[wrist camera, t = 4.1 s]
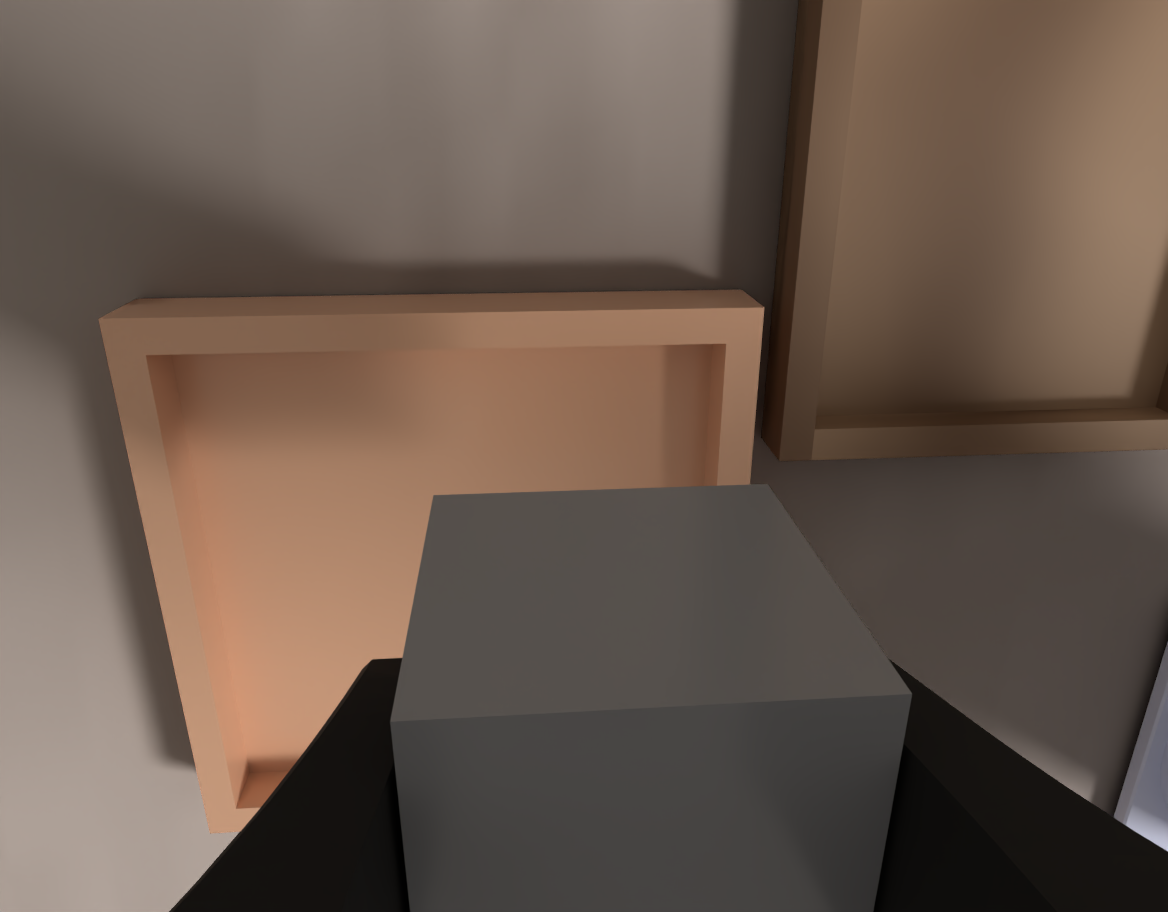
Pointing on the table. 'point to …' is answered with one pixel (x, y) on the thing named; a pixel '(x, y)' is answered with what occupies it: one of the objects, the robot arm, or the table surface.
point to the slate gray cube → (639, 710)
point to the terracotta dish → (383, 468)
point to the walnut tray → (972, 231)
